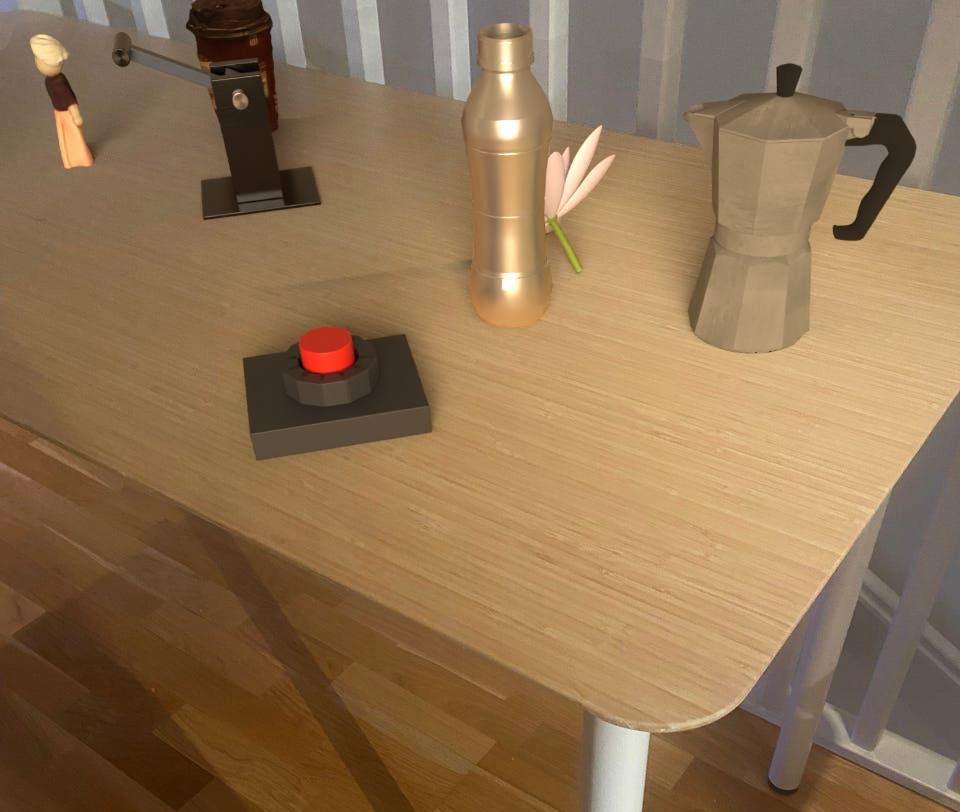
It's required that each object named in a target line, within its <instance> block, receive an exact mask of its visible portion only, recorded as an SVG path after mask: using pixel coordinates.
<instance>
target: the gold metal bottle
mask: <svg viewBox="0 0 960 812" xmlns="http://www.w3.org/2000/svg"><path fill="white" fill-rule="evenodd" d="M533 34H534V33H533V28H532V27H531V26H529V25H527V24H523V23H518V22H499V23H491V24H488V25H485V26H482V27H481V28H479V29H478V30H477V36H476V37H477V54H476V65H477V66H478V67H480V68H481V71H480V74H479V76H478V78H477V80H476V81H475V82H474V85H473V86H472V88H471V90H470V92H469V94H468V96H467V98H466V101H465V103H464V106H463V109H462V115H461V119H460V124H461V132H462V133H461V134H462V138H463V144H464V149H465V154H466V160H467V166H468V171H469V172H468V173H469V177H470V189H471V198H472V211H473V234H472V235H473V237H472V238H473V239H472V259H471V263H470V269H469V280H468V289H469V295H470V300H471V303H472V308H473V309H474V311H475V312H476V314H477V315H478V316H479V317H480V319H482V321H483V322H485V323H487V324H489V325H492V326H495V327H500V328H519V327H524V326H525V327H526V326H528V325H530V324H531V325H532V324H533V323H535V322H537V321H538V320H540V319H541V317H543V315H544V314H545V312H546V311H547V309H548V307H549V305H550V302H551V301H550V300H551V295H552V290H553V280H552V279H553V278H552V272H551V266H550V261H549V257H548V248H547V234H546V232H545V218H544V209H545V200H544V197H545V191H546V172H547V165H548V158H549V157H550V152H551V151H550V149H551V142H552V134H553V127H554V126H553V125H554V115H553V111H552V107H551V103H550V100H549V98H548V97H547V95H546V93H545V91H544V90H543V87H542V85H541V84H540V83H539V81H538V80H537V78H536V77H535V76H534V73H533V71H532V70H531V66H532V65H533V64H534V63H535V52H534V49H533V47H534V45H533V41H534V38H533V36H534V35H533Z"/></svg>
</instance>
